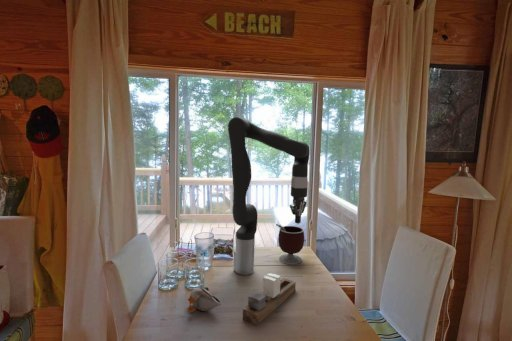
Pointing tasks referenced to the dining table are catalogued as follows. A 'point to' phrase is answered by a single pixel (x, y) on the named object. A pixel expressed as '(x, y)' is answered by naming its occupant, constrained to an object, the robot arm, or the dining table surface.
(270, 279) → the block
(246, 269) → the robot arm
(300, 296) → the dining table surface
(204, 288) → the decorative duck model
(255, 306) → the beam
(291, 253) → the mate gourd
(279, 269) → the dining table surface
